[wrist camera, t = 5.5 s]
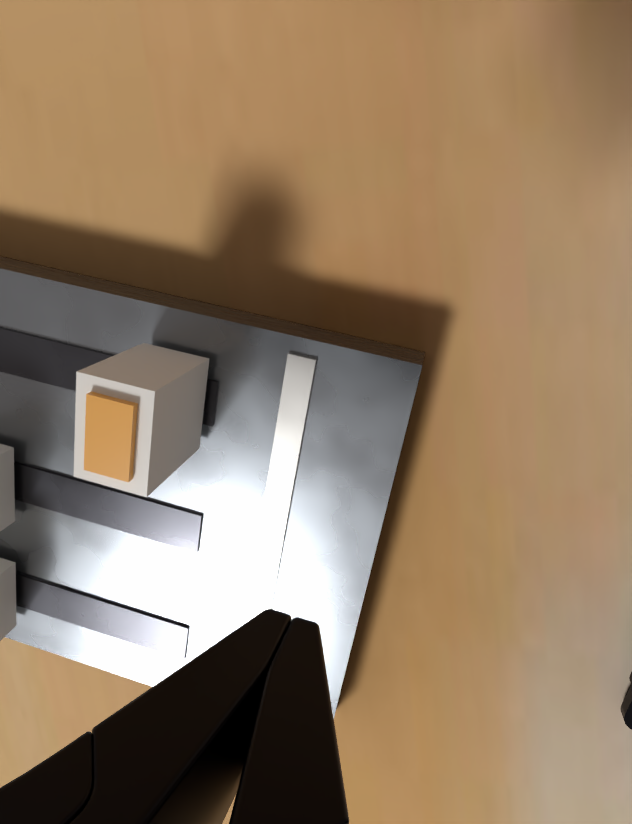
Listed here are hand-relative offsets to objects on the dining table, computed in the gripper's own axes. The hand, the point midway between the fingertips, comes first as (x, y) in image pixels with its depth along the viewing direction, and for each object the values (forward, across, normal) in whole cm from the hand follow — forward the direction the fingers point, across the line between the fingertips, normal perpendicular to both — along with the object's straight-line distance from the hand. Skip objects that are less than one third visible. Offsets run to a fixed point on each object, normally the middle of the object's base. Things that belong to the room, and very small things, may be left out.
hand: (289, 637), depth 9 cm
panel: (+10, +8, +4) cm, 13 cm away
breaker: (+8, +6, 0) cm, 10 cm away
